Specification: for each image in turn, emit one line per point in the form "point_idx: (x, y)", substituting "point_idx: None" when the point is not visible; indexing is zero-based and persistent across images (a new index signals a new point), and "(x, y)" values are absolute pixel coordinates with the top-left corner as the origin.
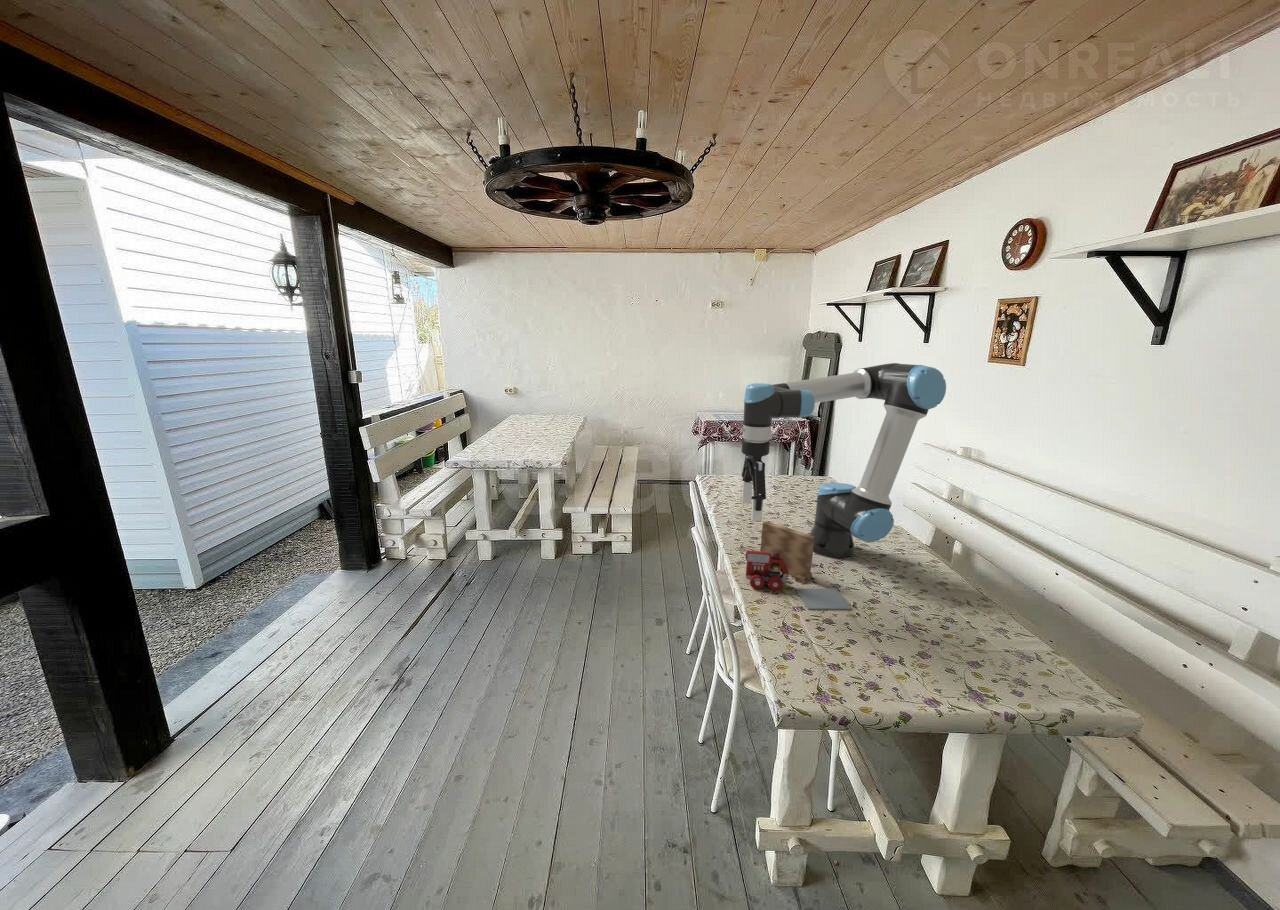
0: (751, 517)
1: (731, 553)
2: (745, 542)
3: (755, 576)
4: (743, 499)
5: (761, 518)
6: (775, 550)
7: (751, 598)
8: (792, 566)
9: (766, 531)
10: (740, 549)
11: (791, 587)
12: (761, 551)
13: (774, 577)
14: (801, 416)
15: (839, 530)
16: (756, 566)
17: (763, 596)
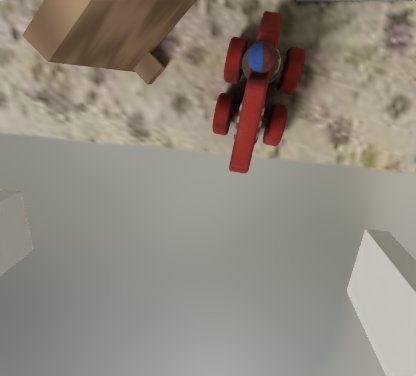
0: (353, 305)
1: (87, 139)
2: (12, 78)
3: (279, 135)
4: (10, 260)
5: (400, 247)
6: (146, 20)
7: (321, 151)
8: None
9: (85, 47)
10: (59, 106)
11: (281, 11)
12: (241, 117)
13: (292, 75)
14: None
15: None
16: (258, 130)
17: (317, 116)
